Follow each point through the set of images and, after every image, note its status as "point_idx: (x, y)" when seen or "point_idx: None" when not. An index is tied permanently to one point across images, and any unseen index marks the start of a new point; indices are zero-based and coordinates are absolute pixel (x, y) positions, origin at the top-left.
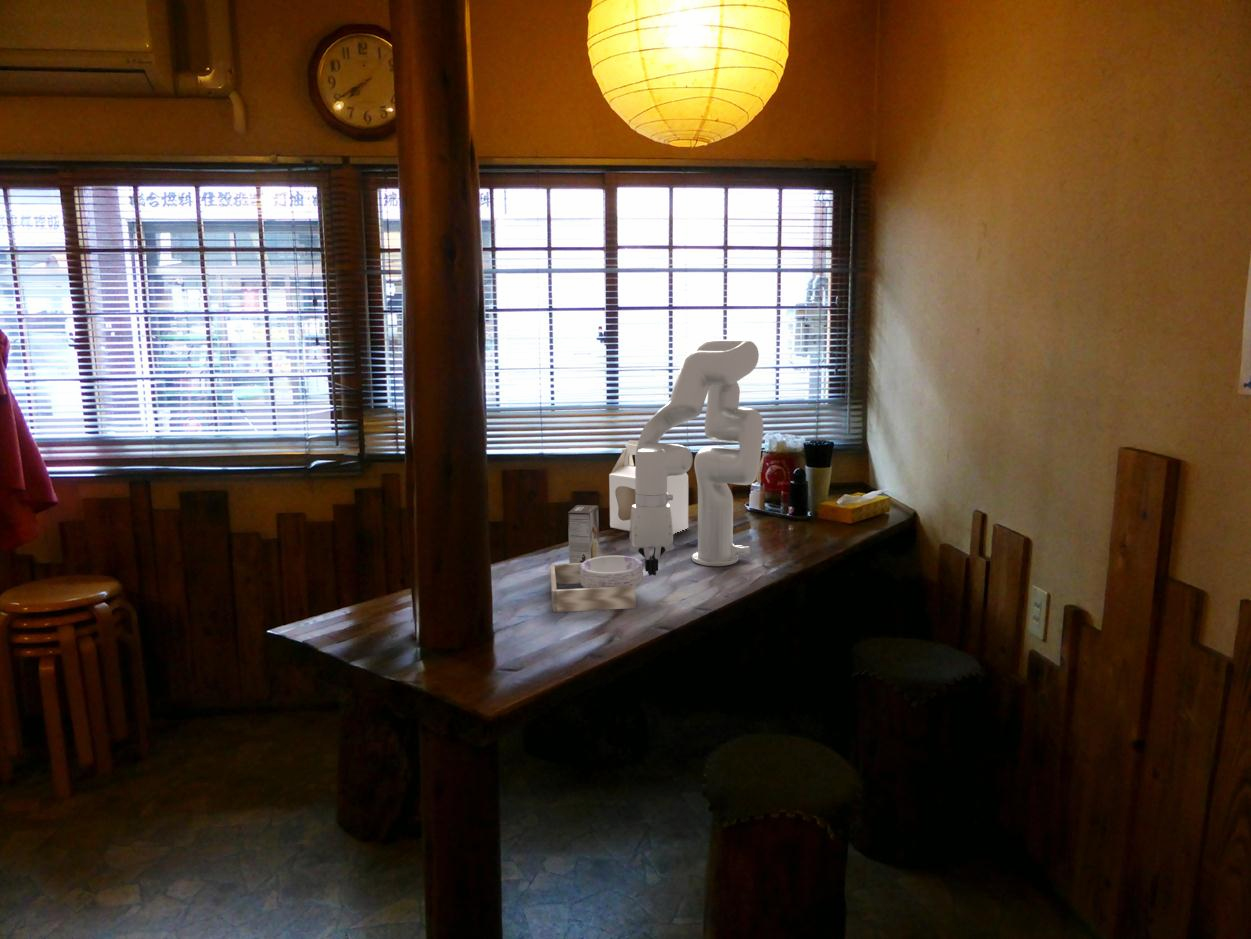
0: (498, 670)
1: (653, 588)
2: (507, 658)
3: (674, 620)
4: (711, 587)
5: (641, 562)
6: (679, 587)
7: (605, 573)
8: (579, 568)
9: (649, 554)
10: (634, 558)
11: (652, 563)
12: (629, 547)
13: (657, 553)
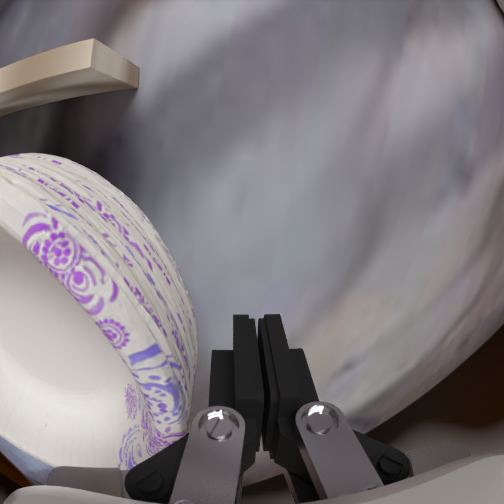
0: (31, 480)
1: (268, 231)
2: (22, 468)
3: (264, 466)
4: (477, 261)
5: (176, 421)
6: (389, 239)
7: (34, 457)
8: None
9: (239, 491)
10: (110, 333)
11: (262, 420)
12: (48, 484)
13: (309, 490)
